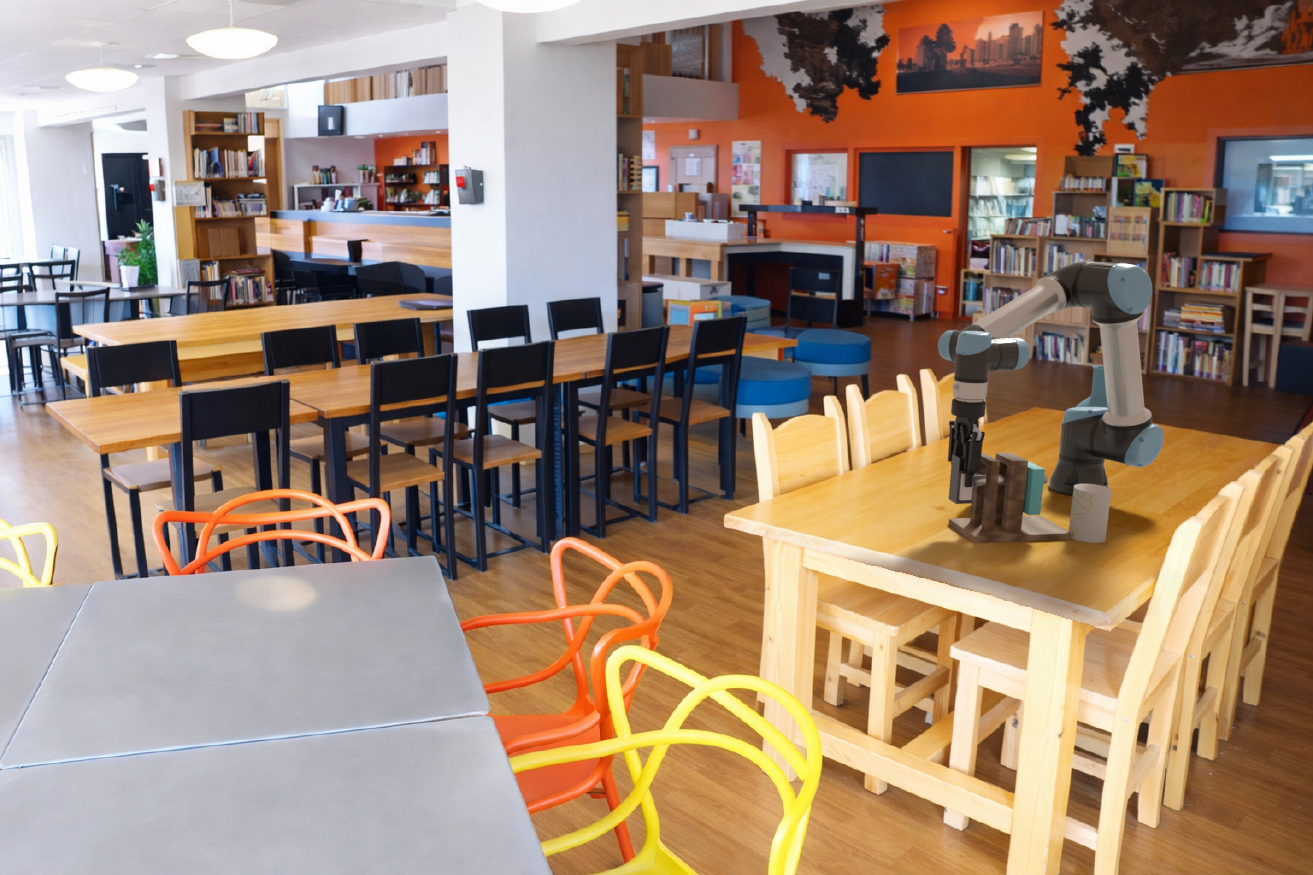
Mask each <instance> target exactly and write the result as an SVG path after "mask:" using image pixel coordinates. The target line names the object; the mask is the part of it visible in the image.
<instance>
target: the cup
mask: <svg viewBox="0 0 1313 875" xmlns="http://www.w3.org/2000/svg"><path fill="white" fill-rule="evenodd" d="M1111 496H1112V489H1111V488H1110V487H1109V486H1108V487H1105V486H1101V485H1095V484H1076V485H1074V489H1073V495H1072V497H1071V498H1072V499H1071V509H1070V519H1069V526H1068V532H1070V533H1071V540H1075V541H1078V542H1083V543H1090V544H1091V543H1092V544H1098V543H1104V542H1105V541H1106V537H1107V529H1108V522H1109V521H1108V520H1109V514H1110V513H1109V512H1110V505H1111Z"/></svg>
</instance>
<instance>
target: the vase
mask: <svg viewBox="0 0 1313 875" xmlns="http://www.w3.org/2000/svg"><path fill="white" fill-rule="evenodd" d="M1092 368H1093V374H1092V382H1091V383H1092V384H1091V393H1090V395H1089V396H1088V397H1087V398H1086V399H1083V400H1082V401H1080V402H1079V403H1078V404H1077V405H1076V406H1075V407H1106V408H1108V405H1107V395H1106V385H1105V374H1104V365H1093V366H1092Z"/></svg>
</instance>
